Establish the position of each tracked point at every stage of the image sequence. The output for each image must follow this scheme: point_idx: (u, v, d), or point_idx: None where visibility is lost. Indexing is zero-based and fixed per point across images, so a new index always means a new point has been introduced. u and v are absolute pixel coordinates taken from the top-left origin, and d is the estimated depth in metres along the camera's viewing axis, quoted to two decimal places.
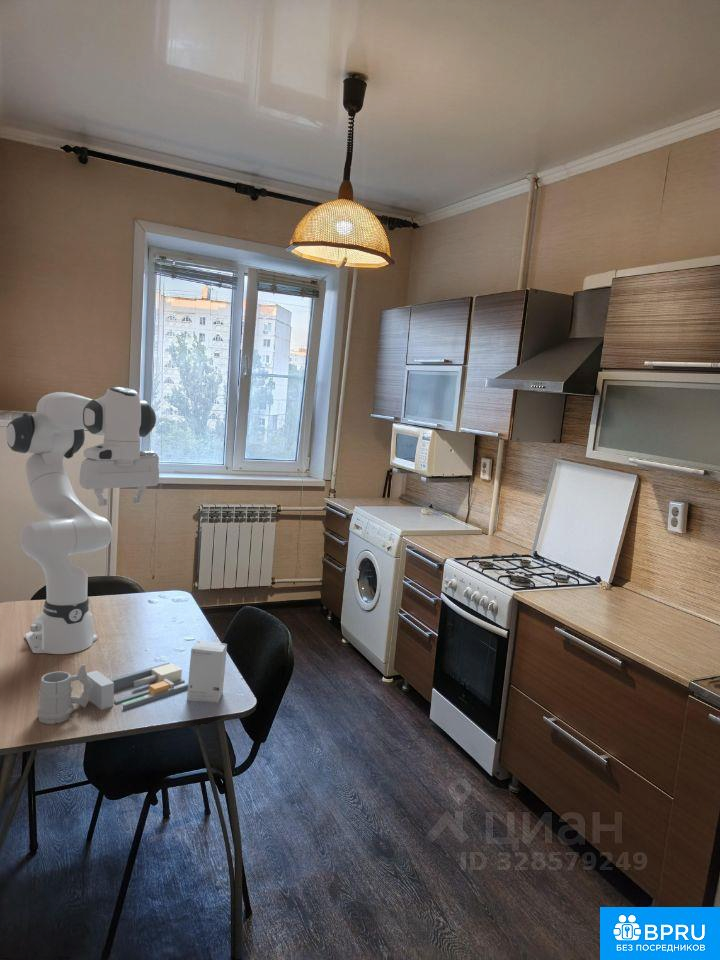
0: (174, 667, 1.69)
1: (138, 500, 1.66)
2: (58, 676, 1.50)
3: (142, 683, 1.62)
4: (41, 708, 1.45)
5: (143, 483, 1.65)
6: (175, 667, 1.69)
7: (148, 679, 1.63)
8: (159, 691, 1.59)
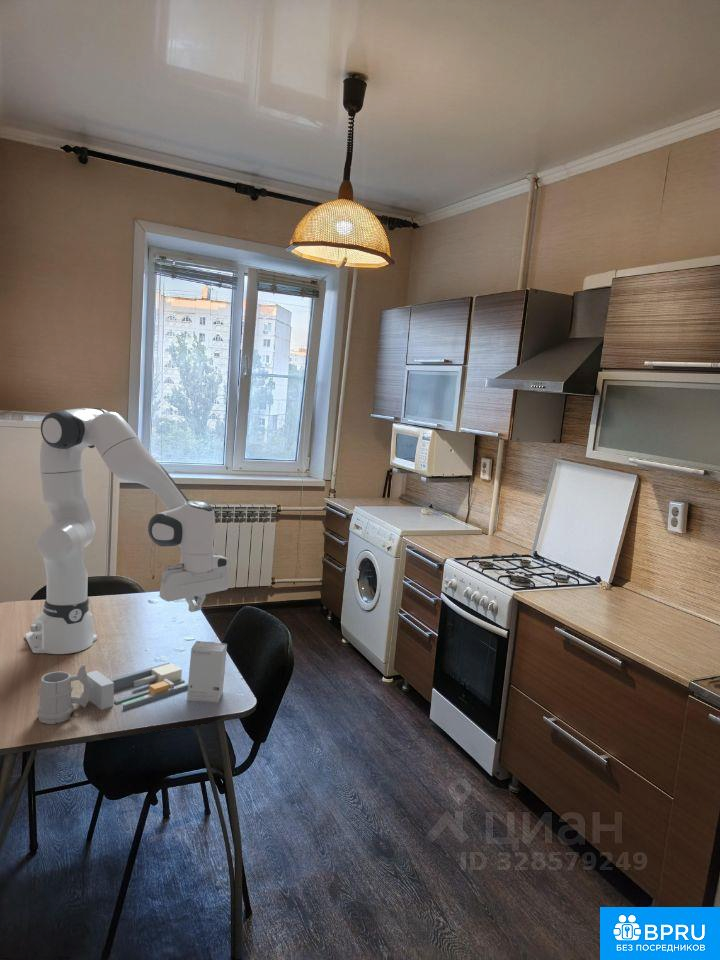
0: (174, 667, 1.69)
1: None
2: (58, 676, 1.50)
3: (142, 683, 1.62)
4: (41, 708, 1.45)
5: None
6: (175, 667, 1.69)
7: (148, 679, 1.63)
8: (159, 691, 1.59)
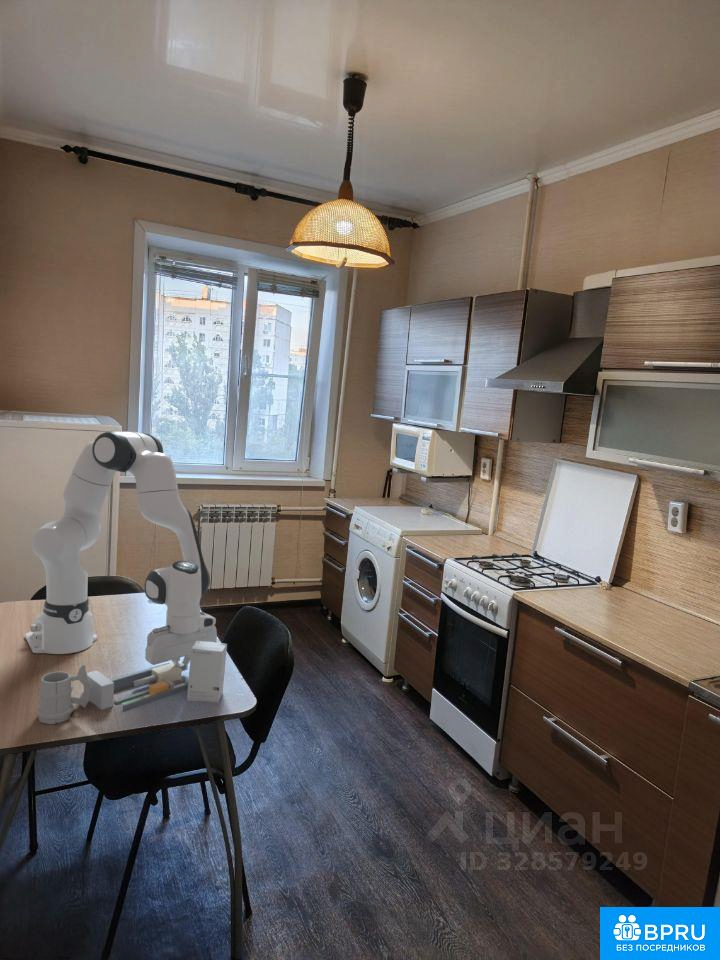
0: (174, 667, 1.69)
1: None
2: (58, 676, 1.50)
3: (142, 683, 1.62)
4: (41, 708, 1.45)
5: None
6: (175, 667, 1.69)
7: (148, 679, 1.63)
8: (159, 691, 1.59)
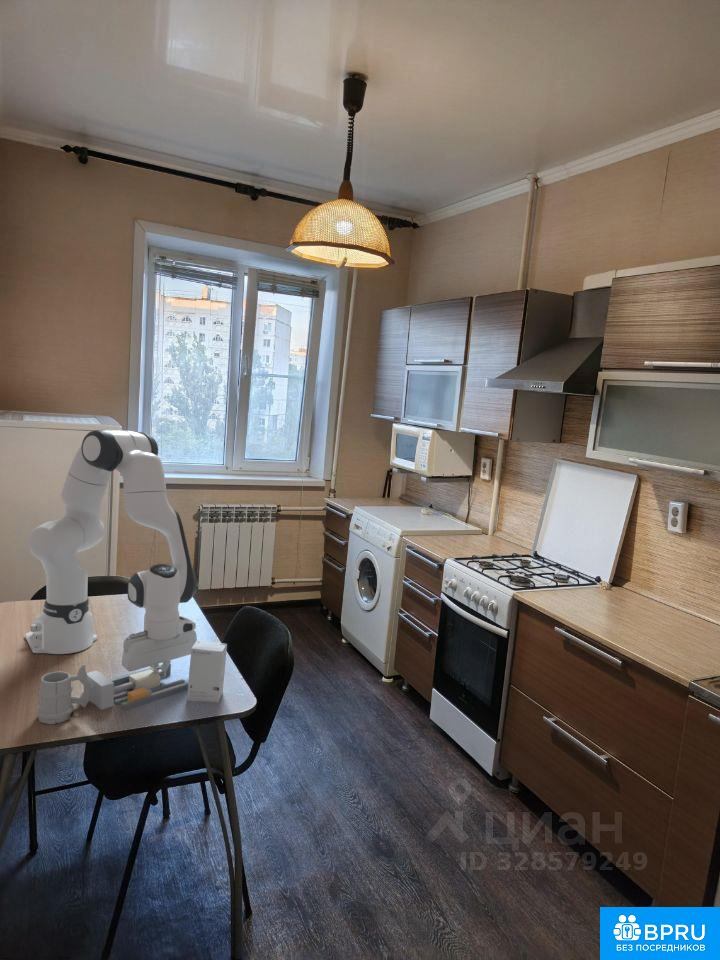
0: (152, 673, 1.65)
1: None
2: (58, 676, 1.50)
3: (119, 690, 1.58)
4: (41, 708, 1.45)
5: None
6: (154, 673, 1.65)
7: (125, 686, 1.59)
8: (138, 698, 1.55)
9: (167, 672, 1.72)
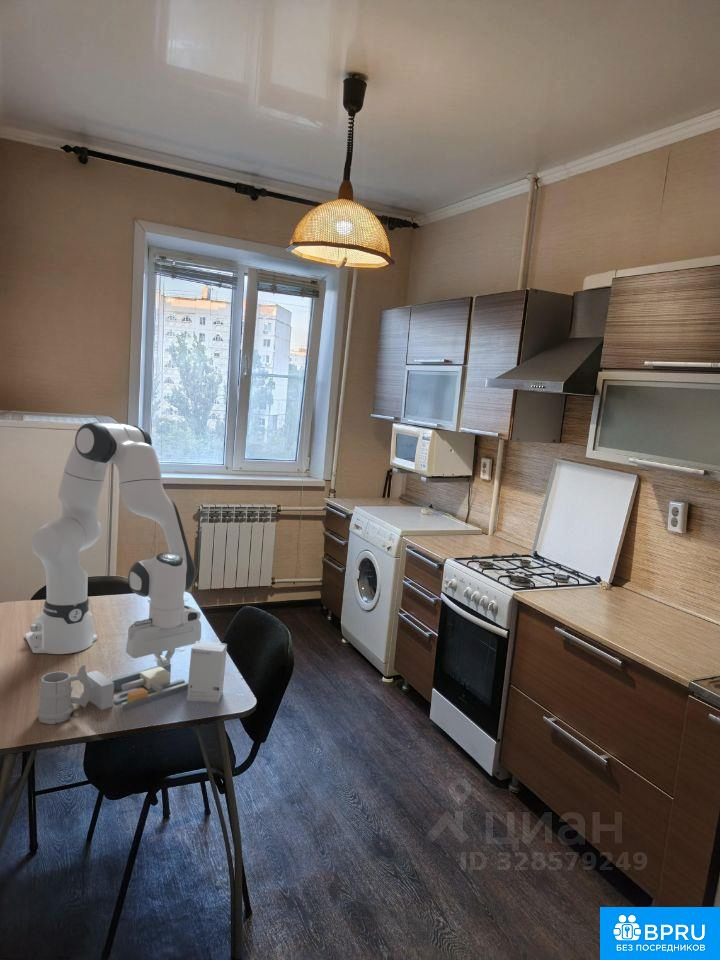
0: (163, 670, 1.67)
1: None
2: (58, 676, 1.50)
3: (130, 687, 1.60)
4: (41, 708, 1.45)
5: None
6: (164, 670, 1.67)
7: (136, 683, 1.61)
8: (137, 698, 1.55)
9: None
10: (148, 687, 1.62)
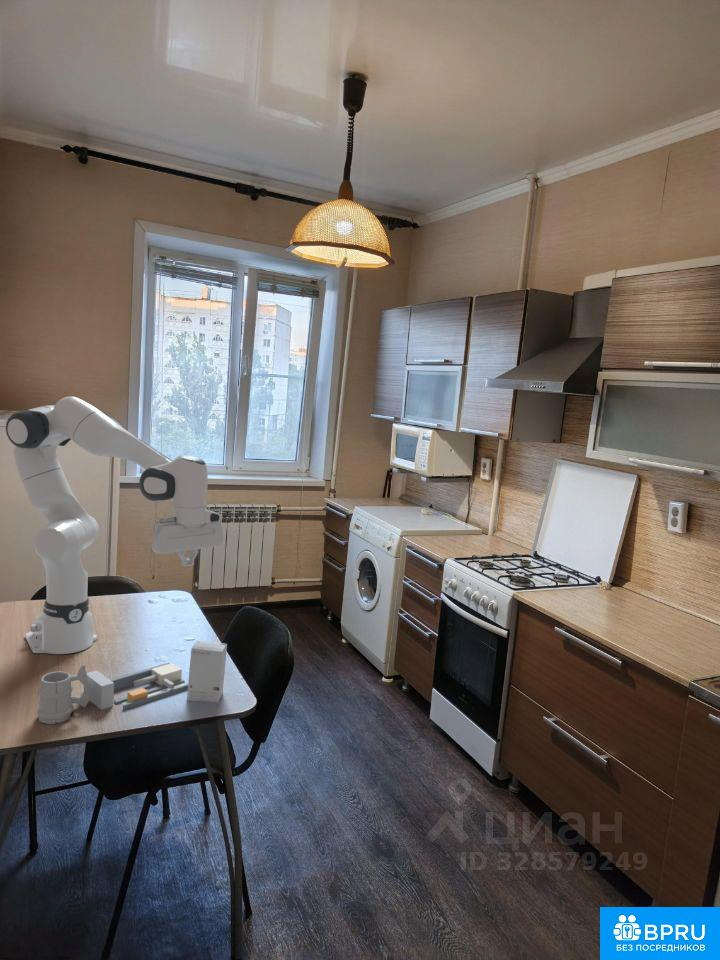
0: (174, 667, 1.69)
1: None
2: (58, 676, 1.50)
3: (142, 683, 1.62)
4: (41, 708, 1.45)
5: None
6: (175, 667, 1.69)
7: (148, 679, 1.63)
8: (137, 698, 1.55)
9: None
10: (160, 683, 1.65)
